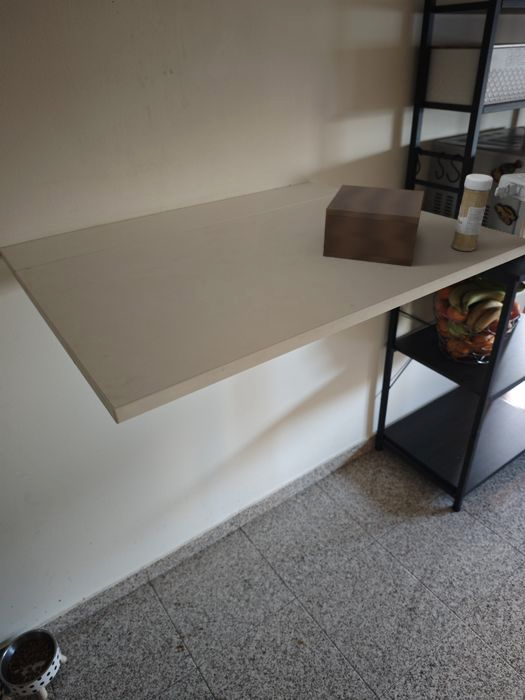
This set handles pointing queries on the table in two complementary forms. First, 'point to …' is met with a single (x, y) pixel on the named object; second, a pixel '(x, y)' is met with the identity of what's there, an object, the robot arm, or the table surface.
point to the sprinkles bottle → (471, 211)
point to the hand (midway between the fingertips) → (516, 199)
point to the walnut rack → (373, 224)
